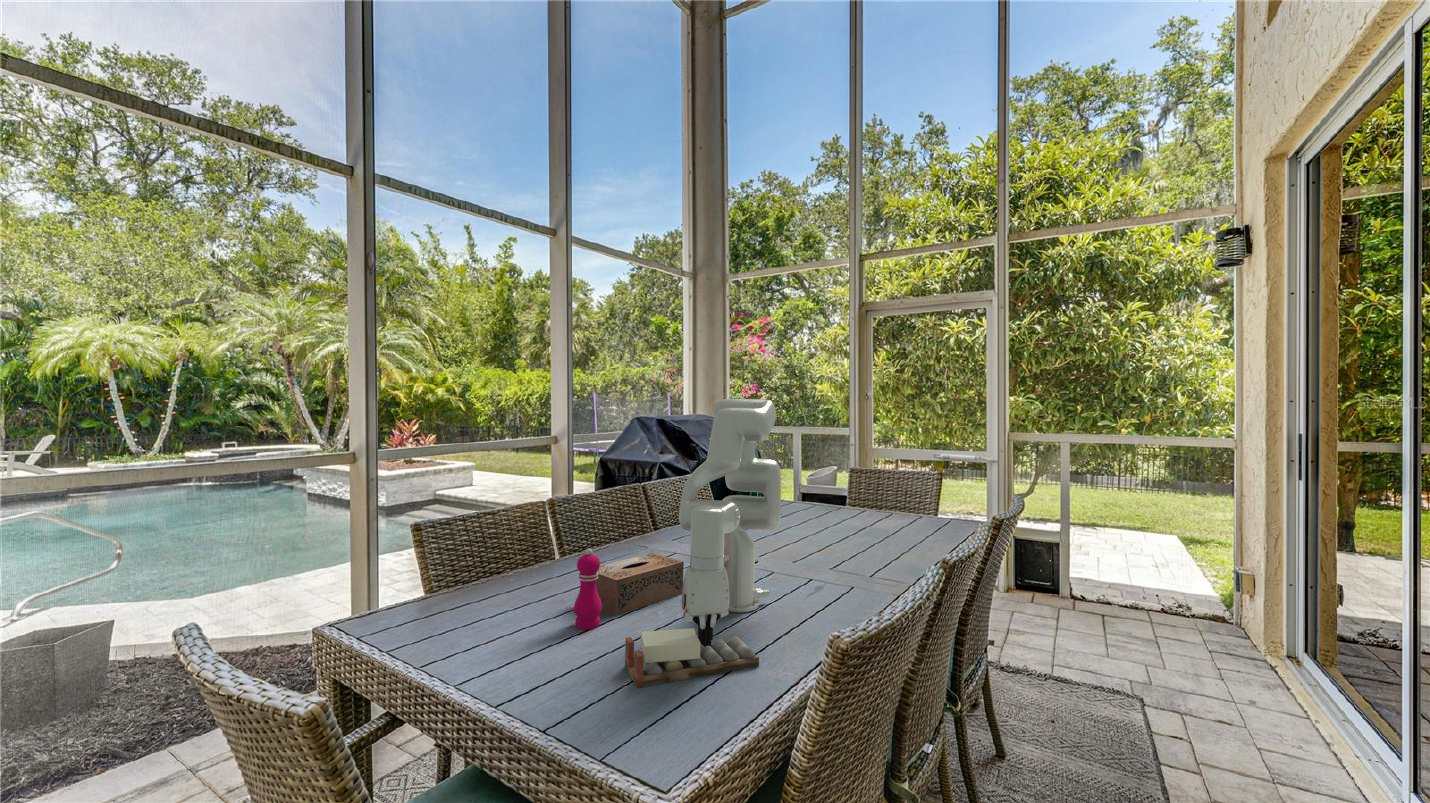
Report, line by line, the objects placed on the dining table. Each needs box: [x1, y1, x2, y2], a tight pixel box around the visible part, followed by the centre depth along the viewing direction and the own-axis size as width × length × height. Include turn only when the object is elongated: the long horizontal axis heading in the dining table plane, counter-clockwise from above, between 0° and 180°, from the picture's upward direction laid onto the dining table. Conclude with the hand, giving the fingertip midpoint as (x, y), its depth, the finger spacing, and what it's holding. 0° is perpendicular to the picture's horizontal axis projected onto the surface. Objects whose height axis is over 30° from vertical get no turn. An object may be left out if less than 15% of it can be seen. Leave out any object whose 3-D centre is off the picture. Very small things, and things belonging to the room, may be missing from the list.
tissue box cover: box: [596, 552, 685, 617], centre depth 177 cm, size 26×14×10 cm, turn 138°
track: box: [624, 635, 760, 689], centre depth 133 cm, size 28×10×6 cm, turn 113°
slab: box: [640, 627, 700, 663], centre depth 132 cm, size 12×8×4 cm, turn 103°
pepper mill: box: [573, 548, 603, 630], centre depth 156 cm, size 7×7×20 cm
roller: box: [659, 660, 683, 672], centre depth 131 cm, size 7×4×4 cm, turn 22°
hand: (705, 643), depth 134 cm, fingers closed
